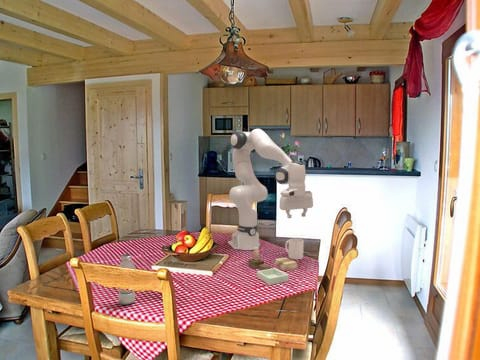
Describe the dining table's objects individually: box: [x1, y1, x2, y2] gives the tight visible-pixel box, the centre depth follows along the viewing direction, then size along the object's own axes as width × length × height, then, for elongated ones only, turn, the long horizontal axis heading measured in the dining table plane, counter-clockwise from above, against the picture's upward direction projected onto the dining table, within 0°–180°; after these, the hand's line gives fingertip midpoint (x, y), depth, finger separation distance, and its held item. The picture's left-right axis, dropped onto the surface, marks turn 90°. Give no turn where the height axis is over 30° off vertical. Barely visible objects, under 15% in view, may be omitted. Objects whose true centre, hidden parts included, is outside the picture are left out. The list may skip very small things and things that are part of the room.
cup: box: [284, 238, 305, 261], centre depth 219 cm, size 8×12×10 cm
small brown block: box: [259, 263, 272, 271], centre depth 195 cm, size 4×4×3 cm
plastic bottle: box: [117, 253, 136, 306], centre depth 154 cm, size 6×7×20 cm
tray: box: [256, 267, 290, 286], centre depth 184 cm, size 11×11×3 cm
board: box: [274, 256, 298, 271], centre depth 201 cm, size 10×7×4 cm
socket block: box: [247, 257, 265, 270], centre depth 200 cm, size 6×6×4 cm
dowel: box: [253, 247, 260, 261], centre depth 200 cm, size 2×2×10 cm
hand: (296, 217), depth 204 cm, fingers open, 8 cm apart
